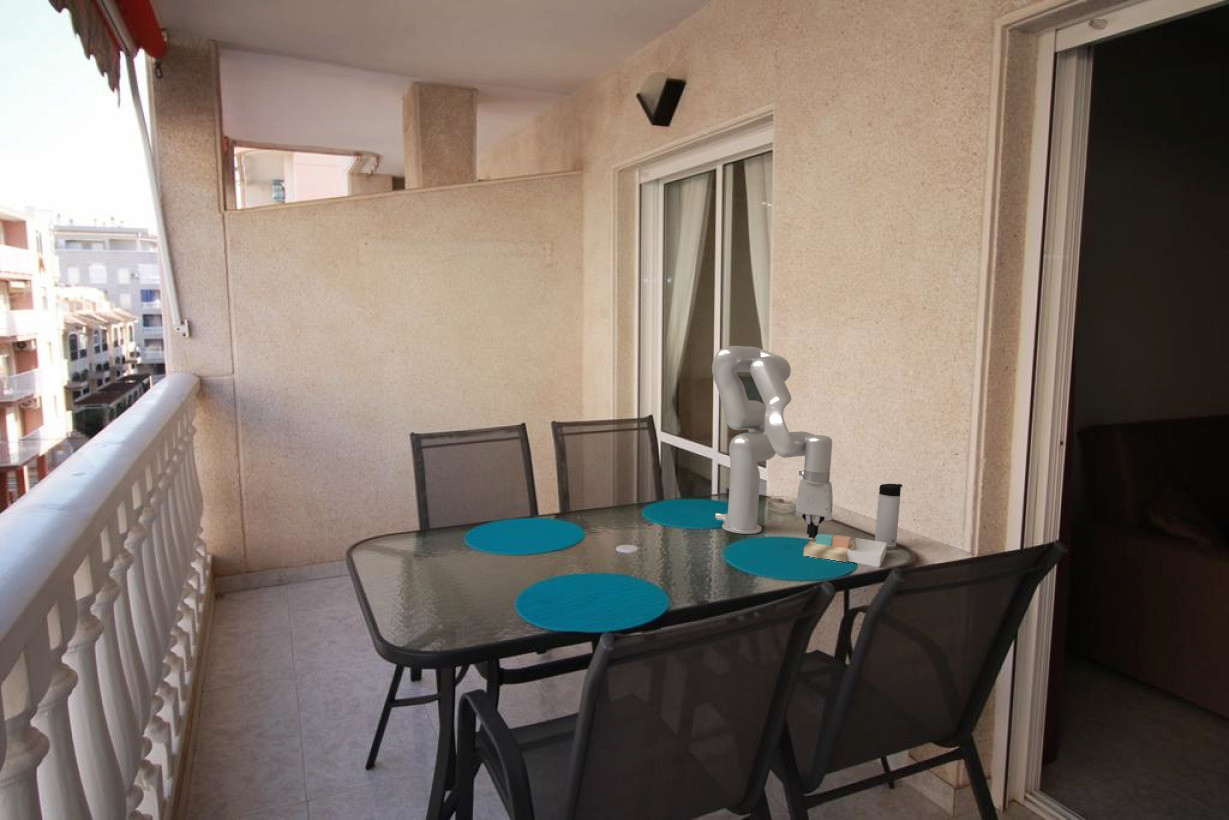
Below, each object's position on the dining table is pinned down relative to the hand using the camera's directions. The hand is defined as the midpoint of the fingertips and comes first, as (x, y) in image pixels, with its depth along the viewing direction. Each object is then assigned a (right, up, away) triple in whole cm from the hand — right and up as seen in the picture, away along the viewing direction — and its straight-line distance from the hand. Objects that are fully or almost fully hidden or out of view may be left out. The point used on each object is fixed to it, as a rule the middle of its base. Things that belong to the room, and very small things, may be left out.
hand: (812, 536), depth 230 cm
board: (+5, -4, -2) cm, 7 cm away
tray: (+14, -5, -6) cm, 16 cm away
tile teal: (+3, -2, -1) cm, 4 cm away
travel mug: (+24, -5, +7) cm, 26 cm away
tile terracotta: (+8, -2, -3) cm, 9 cm away
